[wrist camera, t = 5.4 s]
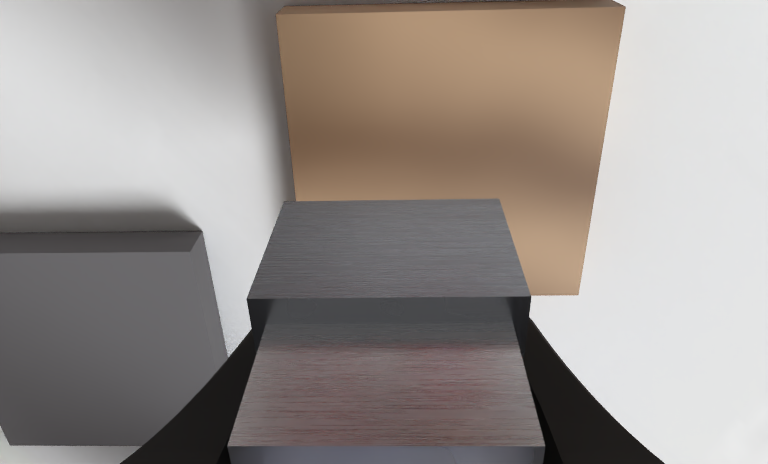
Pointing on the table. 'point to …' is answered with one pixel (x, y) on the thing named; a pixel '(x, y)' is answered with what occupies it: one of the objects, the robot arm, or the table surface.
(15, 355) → the stand
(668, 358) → the table surface
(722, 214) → the table surface
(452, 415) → the housing
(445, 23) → the stand
